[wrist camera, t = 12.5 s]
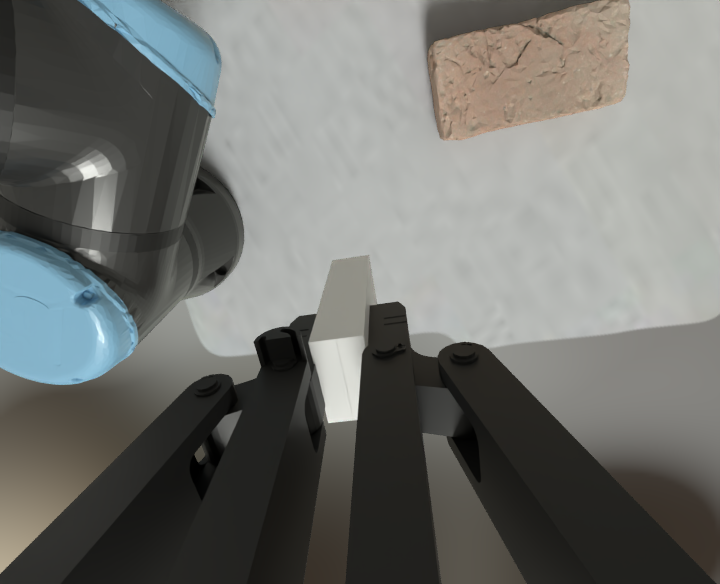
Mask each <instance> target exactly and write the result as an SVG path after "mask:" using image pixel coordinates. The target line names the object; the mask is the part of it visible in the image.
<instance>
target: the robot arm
mask: <svg viewBox="0 0 720 584" xmlns="http://www.w3.org/2000/svg"><path fill="white" fill-rule="evenodd" d="M221 65H222V62H221V55H220V52H219V49H218V47H217V45H216V43H215V42H214V40H213V39H212V37H211V36H210V35H209V34H208V33H207V32H206V31H205V30H203V29H202V28H201V27H199V26H198V25H197V24H195V23H194V22H192V21H191V20H189V19H188V18H187V17H185V16H184V15H182V14H180V13H179V12H177V11H176V10H174V9H173V8H171V7H170V6H168V5H167V4H165V3H163V2H162V1H160V0H0V368H2V369H4V370H6V371H9V372H11V373H13V374H15V375H18V376H20V377H23V378H26V379H29V380H33V381H37V382H42V383H48V384H57V385H66V384H77V383H81V382H83V381H88V380H90V379H95V378H97V377H99V376H101V375H103V374H104V373H106V372H107V371H108V370H110V369H111V368H112V367H114V366H115V365H116V364H118V363H119V362H120V361H122V360H124V359H125V358H126V357H128V356H129V355H130V354H131V353H132V352H133V351H134V349H135V347H136V346H137V345H138V344H139V343H140V342H141V340H143V339H144V338H145V337H146V336H147V335H148V333H149V332H151V331H152V329H153V328H154V327H155V326H156V325H157V324H158V323H159V322H160V321H161V320H162V319H163V318H164V317H165V316H166V315H167V314H168V313H169V312H170V311H171V310H172V309H173V308H174V307H175V306H176V305H177V304H178V303H179V302H180V301H181V300H184V299H188V298H192V297H196V296H200V295H203V294H205V293H207V292H209V291H211V290H213V289H214V288H216V287H217V286H219V285H220V284H221V283H222V282H223V281H224V280H225V279H226V278H227V277H228V276H229V274H230V273H231V272H232V271H233V270H234V268H235V267H236V265H237V263H238V261H239V259H240V257H241V254H242V250H243V244H244V229H243V223H242V219H241V215H240V212H239V210H238V207H237V205H236V203H235V202H234V200H233V198H232V197H231V195H230V193H229V192H228V191H227V190H226V188H225V187H224V186H223V185H222V184H221V183H220V182H219V181H218V180H217V179H216V178H215V177H214V176H212V175H211V174H210V173H208V172H207V171H205V170H204V169H202V168H200V167H199V166H200V162H201V158H202V154H203V150H204V146H205V142H206V138H207V134H208V130H209V126H210V122H211V118H215V114H216V110H215V108H214V103H215V98H216V93H217V88H218V83H219V78H220V73H221ZM254 344H255V348H256V351H257V354H258V357H259V361H260V364H261V369H260V371H259V374H258V376H257V378H255V379H253V380H250V381H247V382H244V383H241V384H238V385H234V383H233V380H232V378H231V377H230V376H229V375H224V374H215V375H209V376H206V377H203V378H201V379H200V380H198V381H196V382H194V383H193V384H191V385H190V386H189V387H188V388H187V389H186V390H185V391H184V392H183V393H182V394H181V395H180V396H179V397H178V398H177V399H176V400H175V401H174V402H173V403H172V404H171V405H170V406H169V407H168V408H167V409H166V410H165V411H164V412H163V413H161V415H159V417H157V418H156V419H155V420H154V421H153V423H151V424H150V425H149V426H148V427H147V428H146V429H145V430H144V431H143V432H142V433H141V435H140V436H138V437H137V438H136V439H135V440H134V441H133V442H132V443H131V444H130V445H129V446H128V447H127V448H126V449H125V450H124V452H122V453H121V454H120V455H119V456H118V457H117V458H116V459H115V460H114V461H113V462H112V463H111V464H110V466H108V467H107V468H106V469H105V470H104V471H103V472H102V473H101V474H100V475H99V476H98V477H97V478H96V479H95V480H94V481H93V482H92V483H91V484H90V485H89V486H88V487H87V488H86V489H85V490H84V491H83V492H82V493H81V494H80V495H79V496H78V497H77V498H76V499H75V500H74V501H73V502H72V503H71V504H70V505H69V506H68V507H67V508H66V509H65V510H64V511H63V512H62V513H61V514H60V515H59V516H58V517H57V518H56V519H55V520H54V521H53V522H52V523H51V524H50V525H49V526H48V527H47V528H46V529H45V530H44V531H43V532H42V533H41V534H40V535H39V536H38V537H37V538H36V539H35V540H34V541H33V542H32V543H31V544H30V545H29V546H28V547H27V548H26V549H25V550H24V551H23V552H22V553H21V554H20V555H19V556H18V557H17V558H16V559H15V560H14V561H13V562H12V563H11V564H10V565H9V566H8V567H7V568H6V569H5V570H4V571H3V572H2V573H1V574H0V584H303V582H304V575H305V569H306V563H307V556H308V549H309V543H310V537H311V530H312V523H313V517H314V511H315V505H316V498H317V491H318V485H319V479H320V472H321V466H322V459H323V452H324V446H325V440H326V430H325V426H324V422H323V416H324V411H325V412H326V416H327V419H328V423H333V422H341V421H351V420H357V431H356V445H355V458H354V459H355V460H354V473H353V486H352V500H351V514H350V528H349V542H348V556H347V570H346V584H442V583H441V576H440V568H439V560H438V553H437V545H436V537H435V529H434V522H433V513H432V506H431V497H430V490H429V482H428V474H427V466H426V458H425V451H424V441H423V434H422V433H429V434H436V435H443V436H447V440H448V443H449V446H450V447H451V449H452V451H453V453H454V455H455V456H456V458H457V460H458V461H459V463H460V465H461V467H462V469H463V471H464V472H465V474H466V476H467V478H468V479H469V481H470V483H471V485H472V487H473V488H474V490H475V492H476V494H477V496H478V497H479V499H480V501H481V503H482V505H483V506H484V508H485V510H486V512H487V513H488V515H489V517H490V519H491V521H492V522H493V524H494V526H495V528H496V530H497V531H498V533H499V535H500V537H501V538H502V540H503V542H504V544H505V546H506V547H507V549H508V551H509V553H510V555H511V556H512V558H513V560H514V562H515V563H516V565H517V567H518V569H519V571H520V572H521V574H522V576H523V578H524V580H525V581H526V583H527V584H716V583H715V582H714V581H713V580H712V579H711V578H710V577H709V576H708V575H707V574H706V573H705V572H704V571H703V569H702V568H701V567H700V566H699V565H698V564H697V563H696V562H695V561H694V560H693V559H692V558H691V557H690V556H689V555H688V554H687V553H686V552H685V551H684V550H683V549H682V548H681V547H680V546H679V545H678V544H677V543H676V542H675V541H674V540H673V539H672V538H671V537H670V536H669V535H668V533H667V532H665V530H663V528H662V527H661V526H660V525H659V524H658V523H657V522H656V521H655V520H654V519H653V518H652V517H651V516H650V515H649V514H648V513H647V512H646V511H645V510H644V509H643V508H642V507H641V506H640V505H639V504H638V503H637V502H636V501H635V500H634V499H633V497H631V496H630V495H629V493H628V492H626V490H625V489H624V488H623V487H622V486H621V485H620V484H619V483H618V482H617V481H616V480H615V479H614V478H613V477H612V476H611V475H610V474H609V473H608V472H607V471H606V470H605V469H604V468H603V467H602V466H601V465H600V464H599V463H598V461H597V460H596V459H595V458H594V457H593V456H592V455H591V454H590V453H589V452H588V451H587V450H586V449H585V448H584V447H583V446H582V445H581V444H580V443H579V442H578V441H577V440H576V439H575V438H574V437H573V436H572V435H571V434H570V433H569V432H568V431H567V430H566V429H565V428H564V427H563V426H562V424H561V423H559V421H558V420H557V419H556V418H555V417H554V416H553V415H552V414H551V413H550V412H549V411H548V410H547V409H546V408H545V407H544V406H543V405H542V404H541V403H540V402H539V401H538V400H537V399H536V398H535V397H534V396H533V395H532V394H531V393H530V392H529V390H527V389H526V388H525V386H524V385H523V384H522V383H521V382H520V381H519V380H518V379H517V378H516V377H515V376H514V375H513V374H512V373H511V372H510V371H509V370H508V369H507V368H506V367H505V366H504V365H503V364H502V363H501V362H500V361H499V360H498V359H497V358H496V357H495V356H494V354H492V352H491V351H490V350H489V349H487V348H486V347H484V346H483V345H479V344H476V343H471V342H460V343H455V344H452V345H449V346H447V347H445V348H444V349H442V350H441V351H440V352H439V355H438V358H436V357H428V356H423V355H420V354H418V353H416V352H415V351H414V350H413V349H412V348H411V345H410V338H409V331H408V324H407V316H406V309H405V307H404V306H403V305H402V304H401V303H399V302H392V303H385V304H377V300H376V294H375V288H374V282H373V277H372V271H371V265H370V259H369V255H366V256H359V257H353V258H346V259H339V260H333V261H332V264H331V267H330V271H329V274H328V278H327V281H326V284H325V288H324V291H323V294H322V298H321V301H320V305H319V308H318V311H317V314H312V315H304V316H299V317H298V318H296V319H295V320H294V321H293V322H292V323H291V324H290V326H289V327H279V328H275V329H272V330H269V331H267V332H264V333H263V334H261V335H260V336H258V337H257V338H256V339H255V341H254ZM201 445H202V447H203V450H204V452H205V457H204V458H203V459H202V460H201V461H200V462H199V463H198V462H197V460H196V458H195V455H194V454H195V452H196V451H197V450H198V448H199V447H200V446H201Z"/></svg>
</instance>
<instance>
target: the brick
mask: <svg viewBox="0 0 720 584" xmlns="http://www.w3.org/2000/svg"><path fill="white" fill-rule="evenodd" d="M629 15H630V5H629V1H628V0H600V1H594V2H591V3H585V4H580V5H576V6H572V7H569V8H566V9H563V10H560V11H557V12H552V13H548V14H546V15H544V16H542V17H539V18H533V19H530V20H527V21H523V22H520V23H517V24H509V25H503V26H498V27H492V28H488V29H485V30H476V31H473V32H469V33H464V34H460V35H456V36H453V37H450V38H449V39H448V38H444V39H441V40H438V41H435V42H434V44H432V45H431V46H430V48H429V51H428V58H427V61H428V68H429V75H430V82H431V87H432V93H433V103H434V111H435V117H436V121H437V128H438V132H439V135H440V138H441V139H443V140H463V139H467V138H470V137H474V136H477V135H479V134H482V133H486V132H490V131H495V130H498V129H503V128H508V127H513V126H517V125H521V124H527V123H532V122H538V121H543V120H547V119H553V118H557V117H562V116H566V115H571V114H574V113H579V112H584V111H589V110H594V109H599V108H602V107H605V106H609V105H613V104H616V103H618V102H621V100H622V99H623V98H624V96H625V93H626V82H627V79H628V75H627V74H628V70H629V62H628V60H627V56H628V54H627V50H628V32H629V26H630V19H629Z"/></svg>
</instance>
